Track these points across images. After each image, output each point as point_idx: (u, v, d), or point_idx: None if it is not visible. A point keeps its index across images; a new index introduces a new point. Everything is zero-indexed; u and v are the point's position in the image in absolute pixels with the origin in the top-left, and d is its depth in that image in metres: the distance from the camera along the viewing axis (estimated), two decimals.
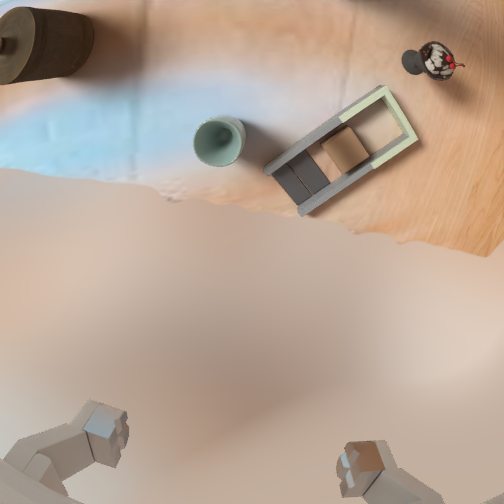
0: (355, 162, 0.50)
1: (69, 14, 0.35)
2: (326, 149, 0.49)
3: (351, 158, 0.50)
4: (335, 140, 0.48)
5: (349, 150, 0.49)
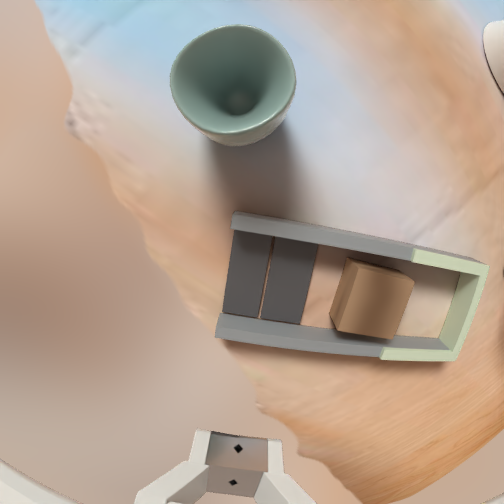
0: (370, 330, 0.26)
1: None
2: (359, 275, 0.25)
3: (372, 322, 0.26)
4: (383, 276, 0.25)
5: (381, 308, 0.26)
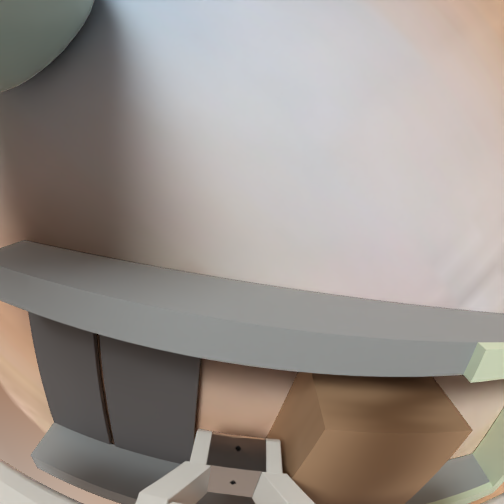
0: None
1: None
2: (325, 444, 0.07)
3: None
4: (397, 437, 0.07)
5: (376, 489, 0.08)
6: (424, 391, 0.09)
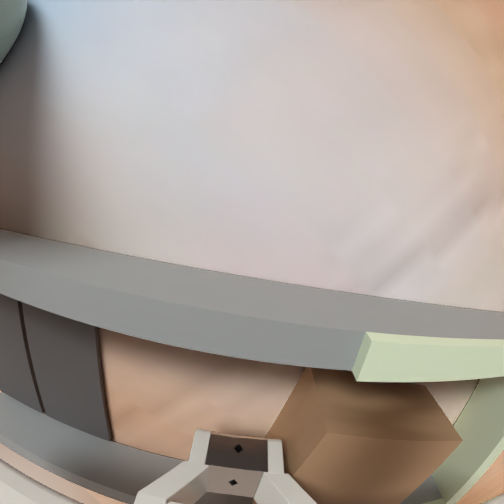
0: None
1: None
2: (325, 446, 0.07)
3: None
4: (392, 443, 0.07)
5: (368, 492, 0.08)
6: (418, 401, 0.10)
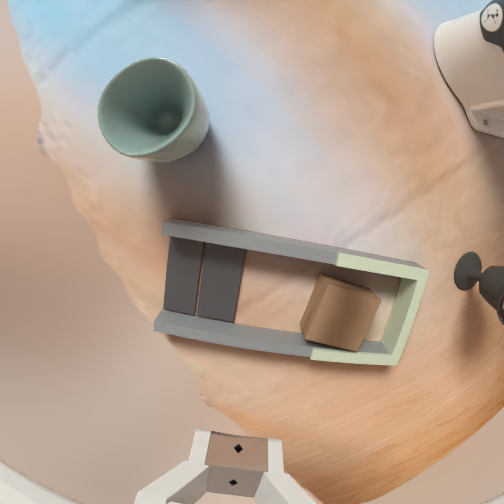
0: (336, 341, 0.29)
1: None
2: (328, 291, 0.28)
3: (338, 333, 0.29)
4: (350, 293, 0.28)
5: (347, 322, 0.29)
6: (363, 289, 0.31)
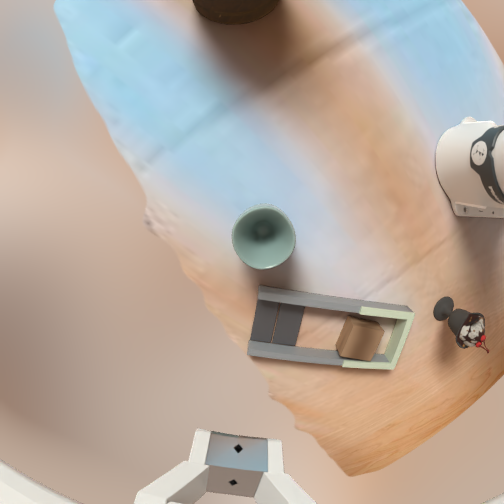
0: (358, 356, 0.48)
1: None
2: (353, 328, 0.46)
3: (359, 351, 0.47)
4: (366, 329, 0.46)
5: (365, 344, 0.47)
6: (373, 323, 0.49)
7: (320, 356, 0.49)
